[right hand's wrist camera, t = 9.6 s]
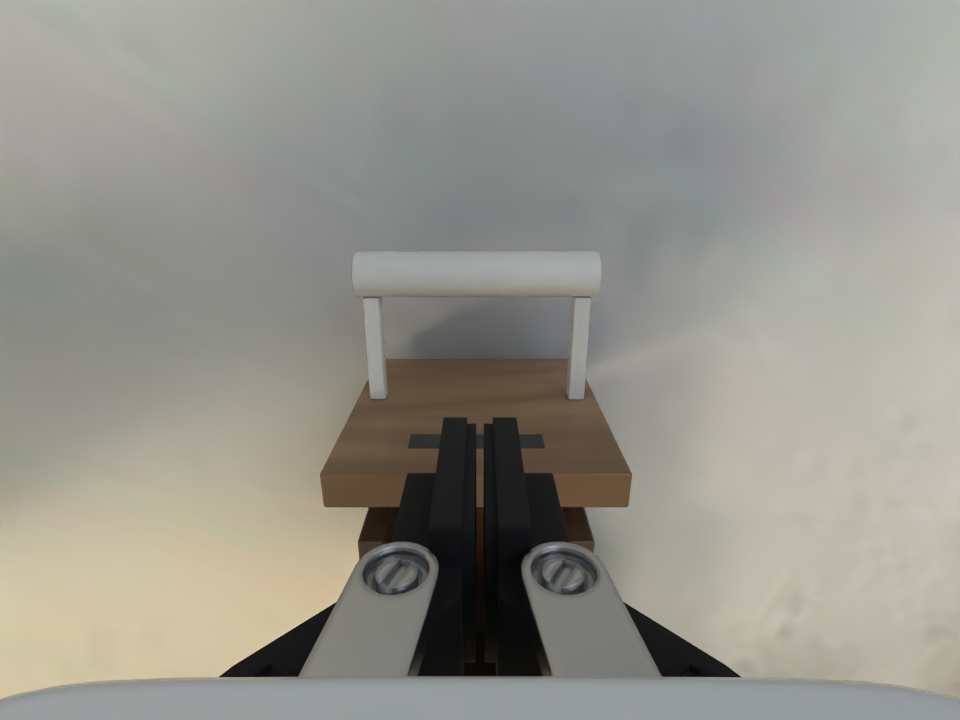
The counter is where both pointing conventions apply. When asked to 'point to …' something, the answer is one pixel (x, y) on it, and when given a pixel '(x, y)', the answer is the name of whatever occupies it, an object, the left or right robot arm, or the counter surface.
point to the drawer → (475, 398)
